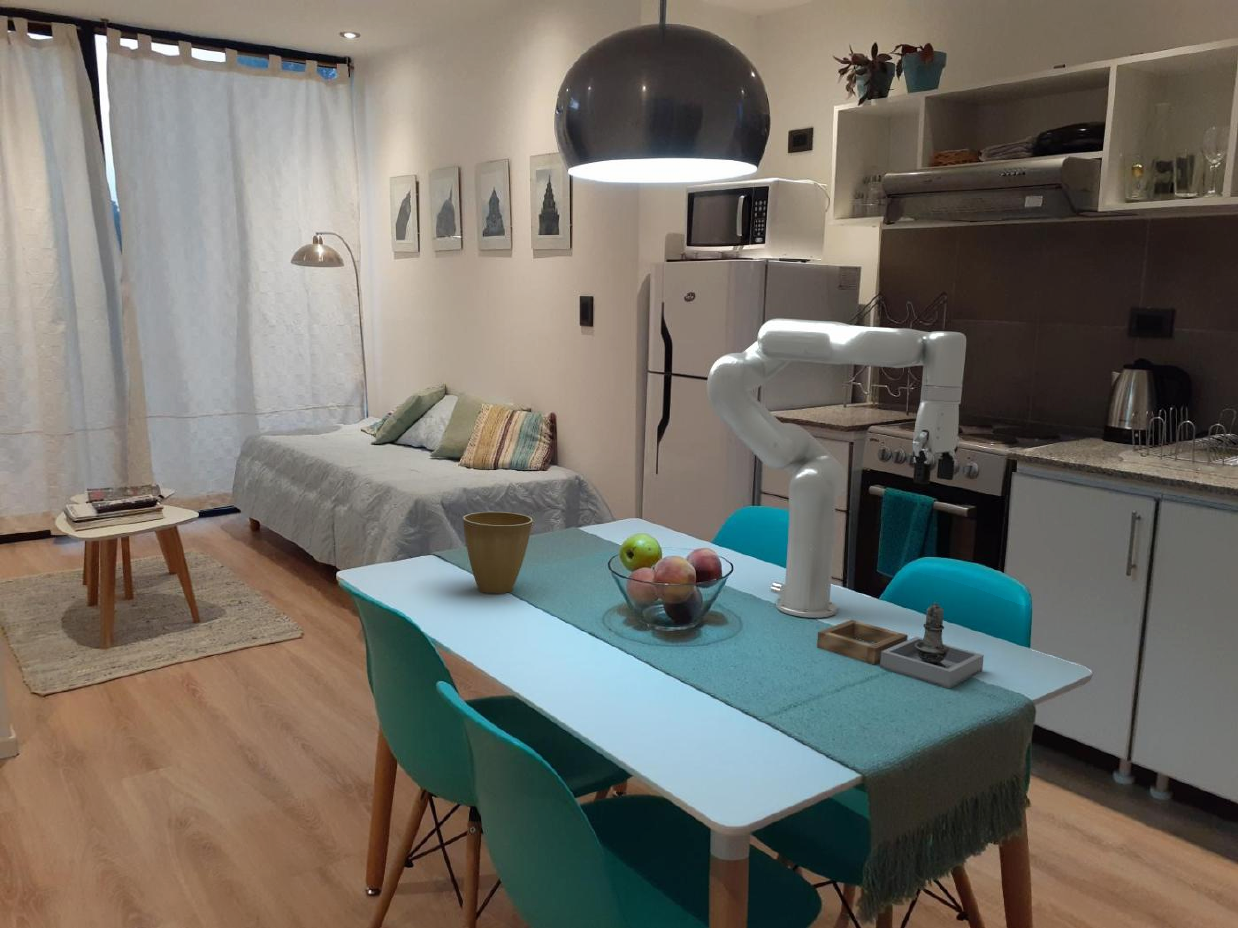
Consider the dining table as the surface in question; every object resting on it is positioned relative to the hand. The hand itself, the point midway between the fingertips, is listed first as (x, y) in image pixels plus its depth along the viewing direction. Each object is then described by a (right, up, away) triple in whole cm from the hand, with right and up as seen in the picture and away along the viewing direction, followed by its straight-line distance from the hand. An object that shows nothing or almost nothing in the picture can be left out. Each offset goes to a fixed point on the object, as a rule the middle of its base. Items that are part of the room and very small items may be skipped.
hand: (933, 481), depth 194 cm
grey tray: (-7, -33, -19) cm, 39 cm away
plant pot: (-89, -24, +20) cm, 94 cm away
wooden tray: (-17, -31, -10) cm, 37 cm away
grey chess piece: (-7, -33, -19) cm, 39 cm away
